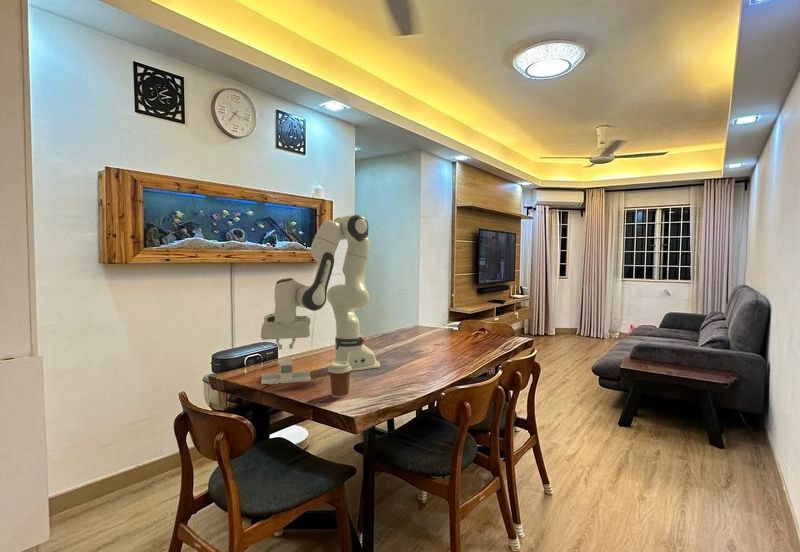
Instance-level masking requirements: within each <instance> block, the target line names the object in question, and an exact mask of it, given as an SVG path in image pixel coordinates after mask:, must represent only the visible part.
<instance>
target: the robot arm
mask: <svg viewBox="0 0 800 552" xmlns="http://www.w3.org/2000/svg"><path fill="white" fill-rule="evenodd" d="M368 235H369V222H368V220H367V218H366V217H364V216H362V215H358V214H354V215H352V214H351V215H345V216H342V217H337V218H335V219H334V220H332V219H328V220H324V221H323V222H322V224H321V225H320V226H319V228H318V229H317V232H316V234H315V236H314V238H313V239H312V240H313V241H312V243H311V246H310V255H311V257H312V258H313V259H314V260H315V262H317V269H316V273H315V276H314V279H313V282H312V284H311V285H310V286H309V285H306V284H302V283H301V282H300V283H299V282H298V281H296V280H295V279H294V278H292V277H288V278H282V279H279V280H277V281H276V283H275V286H274V300H273V301H274V303H275V306H274V312H273V313H269V314H266V315H264V317H263V323H262V325H261V330H260V339H261V340H263V341H265V340H275V342H276V345H277V346H278V350H282V349H283V344H280V340H284V339H288V340H289V339H291V343H289V346H288V348H289V349H290V350H292V349H294V344H295V343H296V339H303V338H310V335H311V331H310V325H311V318H310V317H309V316H307V315H297V307H299V308H302V309H307V310H310V311H312V312H313V311H314V312H315V311H319V310H321V309H322V308H323V307H324V306H325V304H326V302H327V300H328V303H329V304H330V305H331V307H332V311H333V314H334V318H335V335H336V336H335V339H334V348H335V354H334V355H335V356H334V360H333V362H348V363H349V365H350V367H352V371H351V372H355V371H363V370H369V369H377V368H380V367H381V363H380V361H378V360H377V359H376V356H375V355H376V354H375V353H374V351H373V350H372V349H371V348H370V347H368V346H366V342H367V340H366V338H363V337H362V336H360V319H359V318H358V317H357V315H356V313H355V310H359V309H365V307H367V306H368V305H369V302H370V294H369V292H368V289H367V287H366V279H365V278H366V271H367V267H368V262H369V257H370V253H371V252H370V251H371V250H370V249H371V242H370V239H369V238H368ZM341 240H347V242H346V243H347V248H346V251H345V252H346V253H345V256H344V260H343V264H342V269H341V271H342V273H343V275H344V279H345V281H344V282H345V283H344V284H335V285H332V286H330V288H328V287H329V283H330V279H331V275H332V272H333V269H334V266H335V254H336V252H337V248H338V246H339V244H340V241H341Z"/></svg>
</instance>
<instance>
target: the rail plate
mask: <svg viewBox="0 0 800 552" xmlns="http://www.w3.org/2000/svg"><path fill="white" fill-rule="evenodd" d="M260 380H261V382H260V383H261V386H263V385H262V384H269V385H278V384H279V383H281V384H291V383H292V384H293V383H302V382H303V383H304V382H312V378H311V371H310V370H302V371H301V370H299V371H293V379H289V380H280V372H274V373H273V372H271V373H261V379H260Z"/></svg>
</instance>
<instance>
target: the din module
mask: <svg viewBox="0 0 800 552" xmlns="http://www.w3.org/2000/svg"><path fill="white" fill-rule="evenodd" d="M293 364H294V363H293V358H292V357H290V358H289V357H287V358H279V373H280V380H289V379H293V372H294V371H293V370H294V365H293Z"/></svg>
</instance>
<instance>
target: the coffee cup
mask: <svg viewBox="0 0 800 552" xmlns="http://www.w3.org/2000/svg"><path fill="white" fill-rule="evenodd" d="M327 371H328V372H329V380H330V391H331V397H333V398H336V399H337V398H340V399H342V398H346V397H348V396H349V393H350V380H351V379H350V376H351V372H353V371H352V367H350V365H349V363H348V362H334V361H333V362H332V363H330V366H329V367H327Z"/></svg>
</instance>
